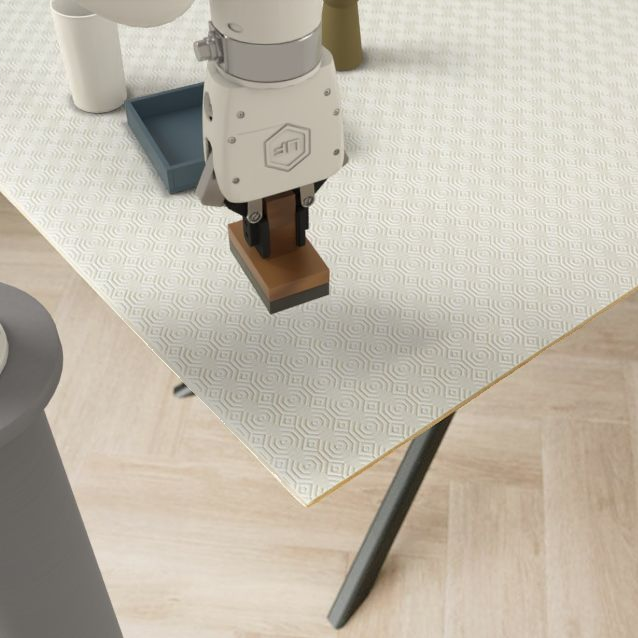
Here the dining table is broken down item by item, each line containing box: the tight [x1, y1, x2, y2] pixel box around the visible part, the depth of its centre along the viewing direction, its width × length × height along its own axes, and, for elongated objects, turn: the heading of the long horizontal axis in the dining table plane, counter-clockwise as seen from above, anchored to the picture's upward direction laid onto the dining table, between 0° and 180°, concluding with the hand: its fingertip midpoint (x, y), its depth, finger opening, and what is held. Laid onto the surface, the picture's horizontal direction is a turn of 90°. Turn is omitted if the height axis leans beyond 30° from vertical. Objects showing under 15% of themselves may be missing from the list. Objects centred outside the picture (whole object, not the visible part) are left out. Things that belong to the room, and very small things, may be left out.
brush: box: [227, 189, 331, 315], centre depth 76 cm, size 6×9×9 cm, turn 27°
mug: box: [49, 0, 128, 114], centre depth 104 cm, size 10×7×12 cm, turn 32°
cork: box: [322, 0, 364, 72], centre depth 111 cm, size 6×6×11 cm
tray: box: [123, 81, 206, 195], centre depth 102 cm, size 19×14×3 cm
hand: (276, 241), depth 77 cm, fingers closed on brush, 2 cm apart
